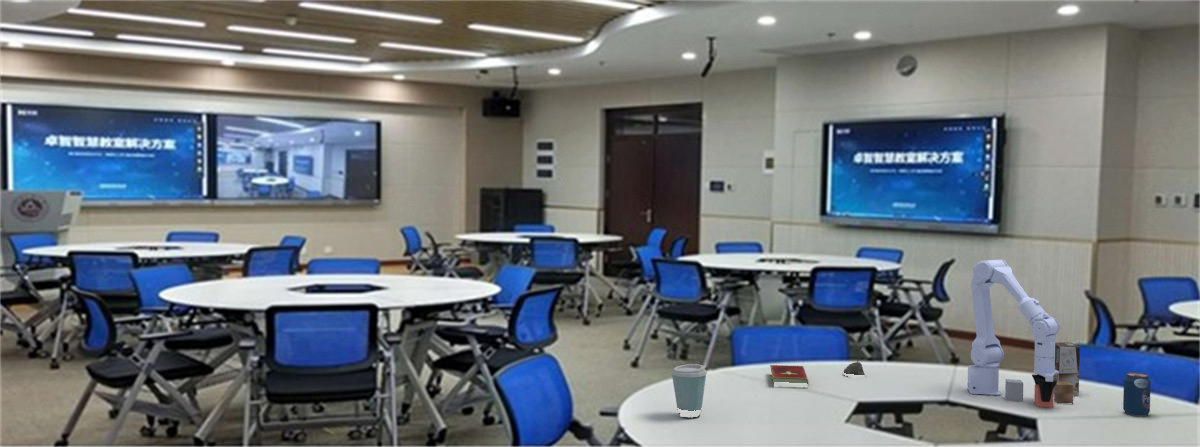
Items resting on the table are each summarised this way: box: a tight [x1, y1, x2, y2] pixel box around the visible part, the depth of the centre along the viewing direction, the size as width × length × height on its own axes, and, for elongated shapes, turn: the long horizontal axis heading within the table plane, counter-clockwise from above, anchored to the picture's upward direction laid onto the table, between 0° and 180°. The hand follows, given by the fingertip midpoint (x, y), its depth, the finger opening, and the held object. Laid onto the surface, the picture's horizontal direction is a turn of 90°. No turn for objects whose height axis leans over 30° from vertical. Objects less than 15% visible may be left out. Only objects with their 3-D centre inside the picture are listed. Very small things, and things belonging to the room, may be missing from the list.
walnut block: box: [1053, 382, 1074, 405], centre depth 288 cm, size 4×4×6 cm
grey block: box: [1004, 378, 1024, 402], centre depth 292 cm, size 4×4×6 cm
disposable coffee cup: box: [670, 363, 708, 411], centre depth 273 cm, size 11×11×15 cm
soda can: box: [1122, 371, 1151, 417], centre depth 273 cm, size 7×7×12 cm
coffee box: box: [1053, 341, 1081, 397], centre depth 301 cm, size 9×6×16 cm
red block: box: [1033, 383, 1054, 408], centre depth 284 cm, size 4×4×6 cm
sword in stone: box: [843, 345, 866, 376], centre depth 328 cm, size 10×8×12 cm
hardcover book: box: [769, 364, 809, 385], centre depth 319 cm, size 12×21×4 cm, turn 171°
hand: (1043, 399), depth 284 cm, fingers closed on red block, 4 cm apart
